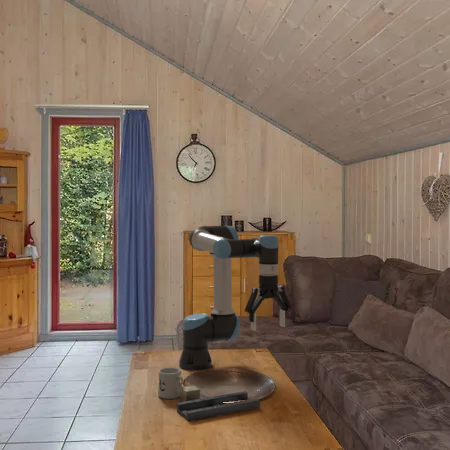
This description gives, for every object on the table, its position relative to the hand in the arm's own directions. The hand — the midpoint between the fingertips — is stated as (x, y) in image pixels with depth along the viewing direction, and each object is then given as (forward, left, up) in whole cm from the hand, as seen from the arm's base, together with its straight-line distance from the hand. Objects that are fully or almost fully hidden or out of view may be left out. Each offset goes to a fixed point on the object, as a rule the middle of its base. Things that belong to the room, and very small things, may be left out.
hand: (268, 328), depth 223 cm
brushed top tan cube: (-5, -31, -26) cm, 41 cm away
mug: (-14, -35, -26) cm, 46 cm away
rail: (+6, -25, -26) cm, 37 cm away
